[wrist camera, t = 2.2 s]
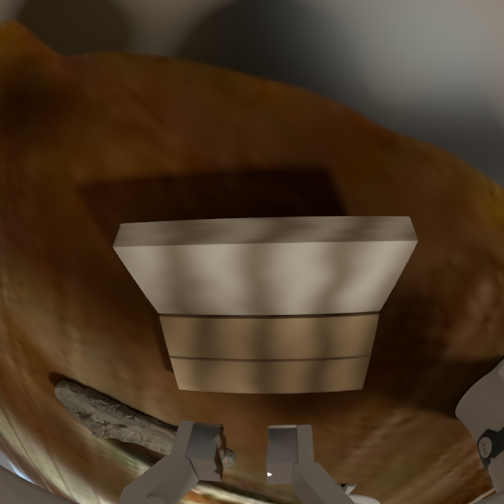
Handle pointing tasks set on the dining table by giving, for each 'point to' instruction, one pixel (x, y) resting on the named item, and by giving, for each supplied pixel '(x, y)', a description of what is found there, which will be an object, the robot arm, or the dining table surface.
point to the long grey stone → (120, 420)
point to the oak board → (270, 351)
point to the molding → (360, 501)
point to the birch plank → (267, 263)
